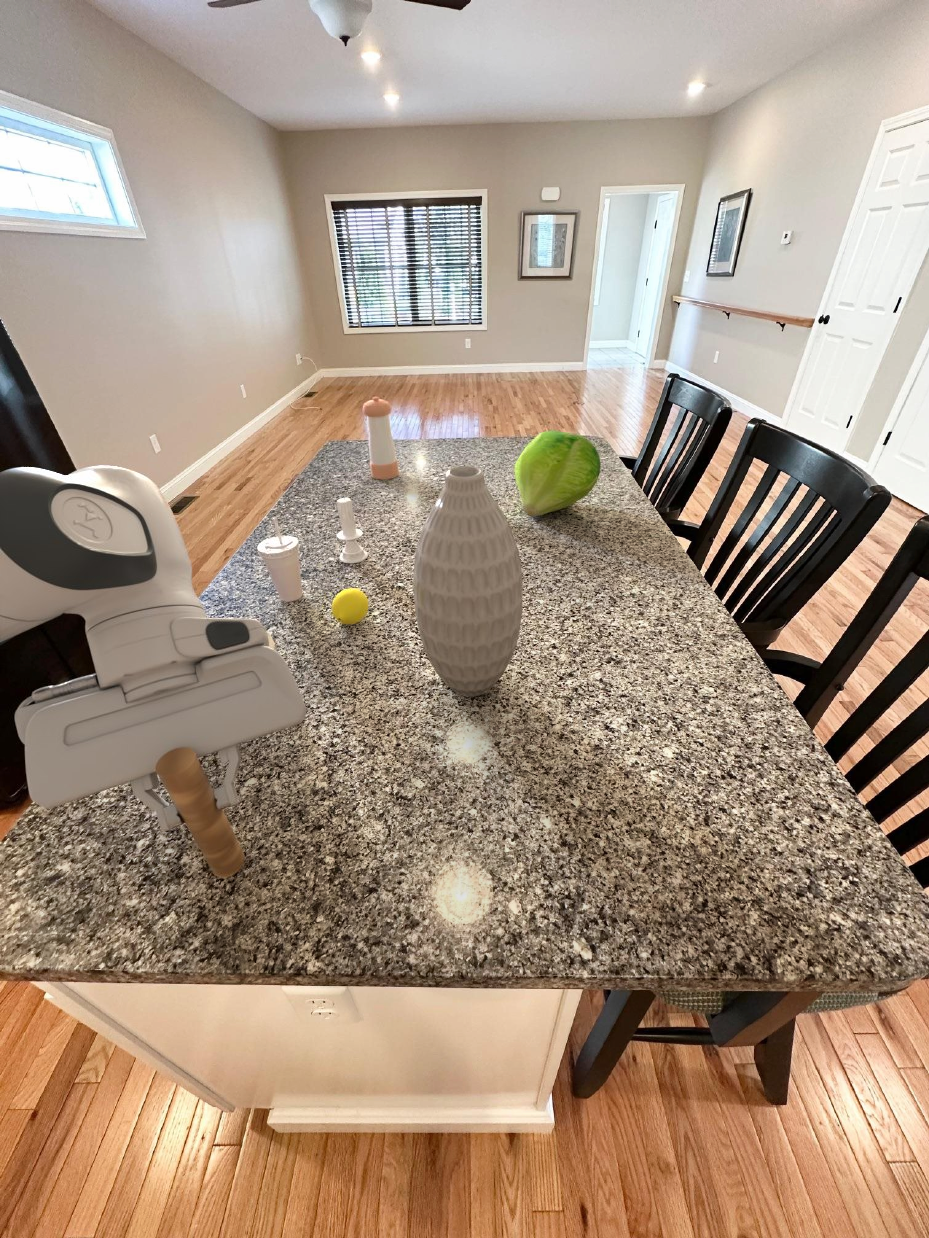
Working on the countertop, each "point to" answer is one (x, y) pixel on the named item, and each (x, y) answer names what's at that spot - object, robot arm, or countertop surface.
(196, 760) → the stick
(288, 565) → the smoothie
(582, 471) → the lettuce
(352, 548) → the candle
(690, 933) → the countertop surface
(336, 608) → the lemon
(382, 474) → the pepper shaker
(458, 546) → the vase
